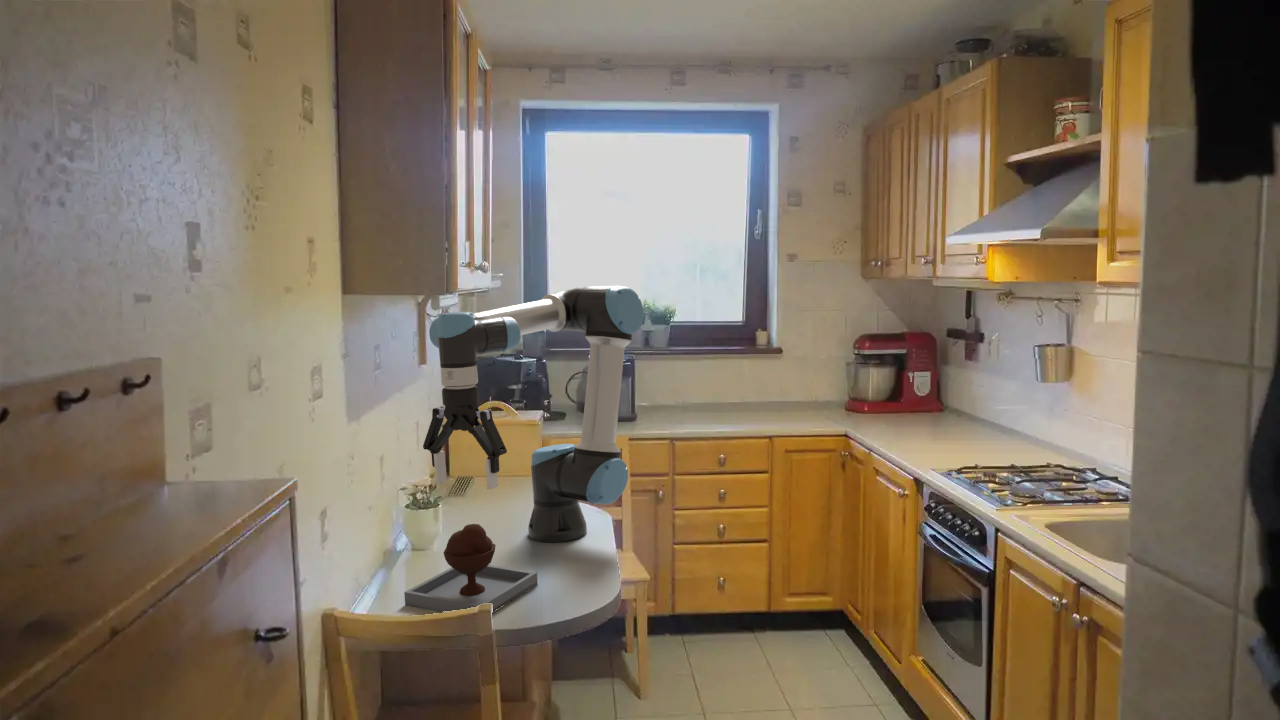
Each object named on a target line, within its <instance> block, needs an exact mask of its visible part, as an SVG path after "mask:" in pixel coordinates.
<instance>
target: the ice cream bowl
mask: <svg viewBox="0 0 1280 720" xmlns="http://www.w3.org/2000/svg"><path fill="white" fill-rule="evenodd" d="M496 546H497V545H496V544H495V543H493V540H492V539H491V538H490V537H489V536H487V532H486V530H485V528H484V527H483V526H481V525H480V524H479V523H469V524H467V525H464V527H463V528H462V530H461V529H459V530H457V531H456V532H453V534H451V535H450V538H448V541H447V544H446V547H445V549H444V551H443V556H444V557H443V558H444V560H445V561H446V563H447V564H448V566H450V568H454V569H455V570H457V571H459V572H461V573H463V574H466V575H467V577H468V583H467V584H466V585H464V586H463V587H461V589H460V594H462V595H465V596H473V595H479V594H481V593H483V592H484V591H485V587H484V586H483V585H481V584H479V583H476V573H477V572H479V571H482V570H483V569H484V568H486V567H487V566H488V565H490V564H491V562H492V561H493V558H494V555H495V552H496Z"/></svg>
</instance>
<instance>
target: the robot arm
mask: <svg viewBox="0 0 1280 720" xmlns="http://www.w3.org/2000/svg"><path fill="white" fill-rule="evenodd" d="M644 312H645V311H644V307H643V302H642V300H641V298H639V295H638V294H637V292H636V291H635V290H634V289H632V288H630V287H628V286H621V285H597V286H596V285H594V286H593V285H591V286H590V285H589V286H587V285H586V286H585V285H583V286H578V287H573V288H569V289H566V290H562V291H558V292H554V293H548V294H546V295H543V296H542V298H541V299H539V300H533V301H528V302H524V303H518V304H513V305H508V306H503V307H502V306H501V307H497V308H492V309H488V310H482V311H478V312H471V311H452V312H450V311H449V312H444V313H441V314H440V315H438V317H437V318H435V319H434V320H433V321H432V323H431V324H430V326H429V330H428V331H429V333H428V334H429V335H428V336H429V339H430V341H431V343H432V345H433V346H434V347H435V348H438V353H439V364H440V367H439V368H440V381H441V386H443V387H442V389H441V397H442V406H437V407H434V408H432V412H431V413H432V417H431V422H430V424H429V427H428V429H427V433H426V435H425V439H424V441H423V445H422V448H423V450H426V451H429V452H430V454H431V465H432V467H433V468H434V476H435V477H434V478H435V484H442V483H444V482H447V481H448V479H447V478H448V477H447V465H446V453H445V450H444V447H445V445H446V443H447V441H448V440H449V439H450V437H451V435H452V434H453V432H454V431H459V430H460V431H462V432H466V431H467V432H468V433H469V434H471V435H472V436H473V437H474V439H475V441H476V442H477V443H478V445H479V446H480V447H481V449H482V450H483V451H484V453H485V454H486V456H487V457H485V459H484V460H485V461H484V462H485V474H486V475H485V476H486V489H487V490H493V489H494V488H496V487H498V486H499V484H498V483H499V482H498V473H499V472H500V456H502V455H505V454H507V452H508V451H507V447H506V444H504V441H503V438H502V437H501V434H500V432H499V431H498V428H497V426H496V424H495V422H494V420H493V413H492V410H491V409H490V408H488V409H485V410H480V409H479V407H478V406H479V402H480V393H479V387H478V386H477V384H478V383H479V375H478V361H477V359H478V357H477V356H481V355H485V354H492V353H500V352H501V353H502V352H503V353H505V352H507V351H509V350H510V351H511V350H514V349H515V348H516V347H518V345H519V344H520V341H521V337H522V336H524V335H529V334H533V333H538V332H541V331H546V330H547V331H549V332H553V333H554V332H555V333H556V332H560V331H573V332H574V331H575V332H585V339H586V340H587V341H588V343H589V347H590V348H589V357H588V368H587V378H586V389H585V398H584V409H583V419H582V428H581V438H580V440H579V442H578V443H576V444H574V443H561V444H560V443H559V444H553V445H548V446H543V447H539V448H537V449H534V451H533V452H532V454H531V465H530V468H531V481H532V494H533V495H532V496H533V497H532V499H533V508H532V511H531V515H530V518H529V522H528V527H527V528H528V529H527V530H528V533H527V534H528V537H529V539H532V540H534V541H538V542H541V543H543V542H544V543H561V542H568V541H573V540H576V539H579V538H582V537H584V536H585V535H586V534H587V531H588V529H587V521H586V519H585V517H584V514H583V513H584V512H583V511H582V508H581V505H580V501H582V502H588V503H591V504H593V505H597V504H598V505H610V504H613V503H614V502H616V501H617V500H619V498H620V497H621V496H622V494H623V493H624V492H625V490H626V488H627V485H628V481H629V469H628V467H627V464H626V462H625V461H624V460H622V459H621V453H622V451H621V449H620V448H619V446H618V445H617V444H616V442H617V441H616V440H617V430H618V422H619V421H618V420H619V410H620V399H621V390H622V380H623V367H624V357H625V349H626V347H628V346H629V344H631V343H632V339H633V338H632V337H633V336H632V335H633V334H636V333H637V332H638V331H640V328H641V327H642V326H643V322H644V317H645V316H644V315H645V314H644ZM444 418H445V419H446V421H445V423H444V424H443V422H444ZM442 425H443V426H442ZM441 428H442V429H441Z"/></svg>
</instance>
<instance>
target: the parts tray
mask: <svg viewBox="0 0 1280 720" xmlns="http://www.w3.org/2000/svg"><path fill="white" fill-rule="evenodd" d="M467 583H468V577H467V575H466V574H463V573H461V572H459V571H457V570H455V569H454V568H452V567H450V568H449V569H446V570H445V571H442V572H440V573H438V574H436V575H434V576H433V577H431V578H429V579H427V580H424V581H423V582H422V583H419V584H417V585H415V586H413V587H412V588H409V589H407V590H406V591H404V603H405V604H404V605H405V606H409V607H413V608H417V609H418V608H419V609H424V610H428V611H433V612H440V613H444V612H443V611H452V610H460V609H467V608H471V607H476V606H478V605H480V604H483V603H492V604H493V612H494V611H495V610H496V609H498V608H500V607H501V606H503V605H505V604H506V605H508V604H509V603H508V602H510V601H511V602H513V601H514V600H516V599H517V597H518V598H520V595H521V596H523V595H524V594H526V593H527V592H529V591H530V590H532V589H534V588H535V587H536V586H538V572H535V571H528V570H524V569H518V568H511V567H504V566H500V565H499V566H498V565H492V564H489V565H488V566H487V567H486V568H484V569H483V570H482V571H479V572H477V573H476V583H479V584H481V585H483V586H484V587H485V591H484V592H483V593H481V594H479V595H473V596H465V595H462V594H460V589H461V587H463V586H464V585H466V584H467ZM531 588H532V589H531ZM528 590H529V591H528ZM526 591H527V592H526ZM523 593H524V594H523ZM515 598H516V599H515ZM513 599H514V600H513ZM512 600H513V601H512ZM511 602H510V603H511ZM507 603H508V604H507ZM506 605H505V606H506ZM503 607H504V606H503ZM500 609H501V608H500ZM495 612H496V611H495ZM495 612H494V613H495Z"/></svg>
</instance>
